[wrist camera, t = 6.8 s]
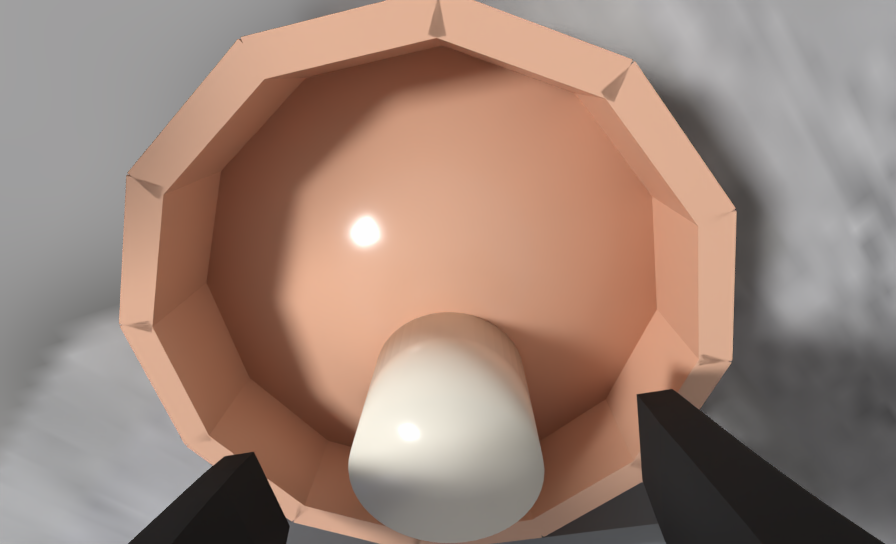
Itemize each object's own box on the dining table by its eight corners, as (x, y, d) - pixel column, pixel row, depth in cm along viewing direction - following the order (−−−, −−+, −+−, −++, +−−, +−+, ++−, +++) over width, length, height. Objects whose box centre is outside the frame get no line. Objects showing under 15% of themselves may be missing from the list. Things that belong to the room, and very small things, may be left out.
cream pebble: (397, 445, 12) (378, 552, 9) (357, 326, 11) (322, 413, 8) (533, 423, 12) (556, 530, 9) (510, 299, 10) (529, 379, 8)
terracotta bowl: (291, 482, 14) (253, 575, 11) (111, 88, 10) (-16, 92, 7) (677, 427, 13) (732, 517, 10) (664, -48, 8) (753, -102, 6)
